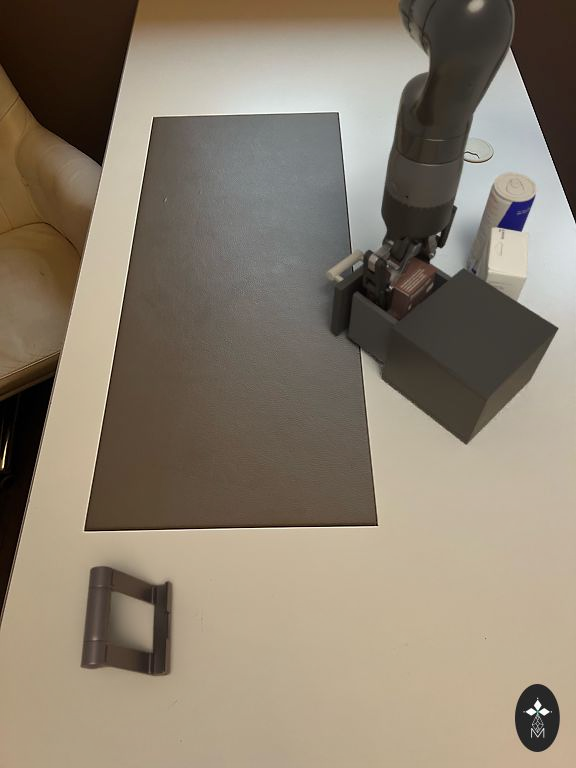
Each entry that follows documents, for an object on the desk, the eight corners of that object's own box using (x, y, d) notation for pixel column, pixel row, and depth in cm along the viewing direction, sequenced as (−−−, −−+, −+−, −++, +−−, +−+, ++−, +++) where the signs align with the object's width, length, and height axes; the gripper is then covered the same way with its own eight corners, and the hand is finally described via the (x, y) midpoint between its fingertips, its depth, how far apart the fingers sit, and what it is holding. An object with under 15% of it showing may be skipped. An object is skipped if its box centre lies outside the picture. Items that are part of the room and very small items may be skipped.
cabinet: (381, 379, 81) (391, 326, 72) (446, 322, 86) (463, 267, 77) (466, 445, 75) (488, 397, 67) (530, 380, 81) (559, 328, 72)
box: (400, 336, 79) (408, 296, 73) (362, 311, 82) (368, 271, 75) (428, 308, 82) (438, 268, 76) (391, 286, 84) (398, 245, 78)
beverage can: (480, 288, 90) (510, 204, 77) (459, 262, 93) (484, 178, 80) (512, 276, 91) (547, 192, 79) (491, 251, 94) (520, 166, 81)
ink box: (502, 340, 84) (529, 278, 75) (465, 333, 85) (487, 272, 75) (504, 293, 89) (530, 230, 79) (469, 288, 90) (490, 224, 80)
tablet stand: (171, 677, 61) (155, 660, 54) (90, 684, 61) (64, 668, 54) (173, 587, 66) (159, 561, 59) (98, 593, 66) (75, 568, 59)
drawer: (308, 313, 86) (309, 267, 79) (368, 268, 91) (374, 221, 84) (401, 385, 79) (412, 342, 72) (461, 332, 84) (477, 286, 77)
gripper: (404, 232, 60) (384, 339, 74) (492, 166, 66) (458, 277, 80) (348, 196, 64) (338, 305, 77) (436, 136, 69) (413, 248, 83)
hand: (399, 291), depth 79 cm, fingers closed on box, 6 cm apart
